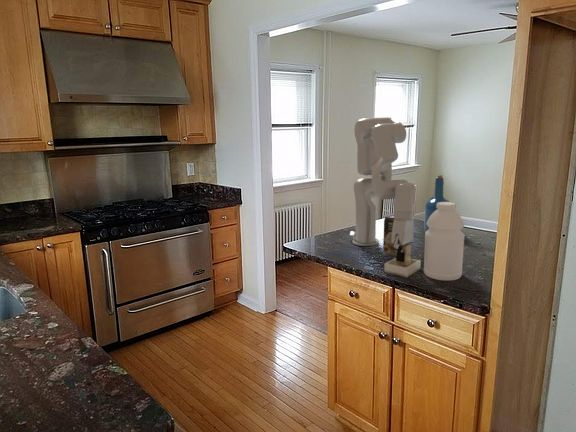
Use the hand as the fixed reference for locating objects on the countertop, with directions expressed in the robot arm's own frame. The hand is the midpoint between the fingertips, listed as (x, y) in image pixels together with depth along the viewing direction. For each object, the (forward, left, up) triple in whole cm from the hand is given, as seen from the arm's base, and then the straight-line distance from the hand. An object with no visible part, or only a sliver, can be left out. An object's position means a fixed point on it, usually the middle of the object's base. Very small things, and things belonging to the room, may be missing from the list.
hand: (402, 259), depth 170 cm
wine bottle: (-12, +61, -5) cm, 62 cm away
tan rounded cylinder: (0, 0, -3) cm, 3 cm away
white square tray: (0, 0, -5) cm, 5 cm away
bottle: (+14, +5, -5) cm, 16 cm away
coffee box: (-13, +17, -5) cm, 22 cm away
